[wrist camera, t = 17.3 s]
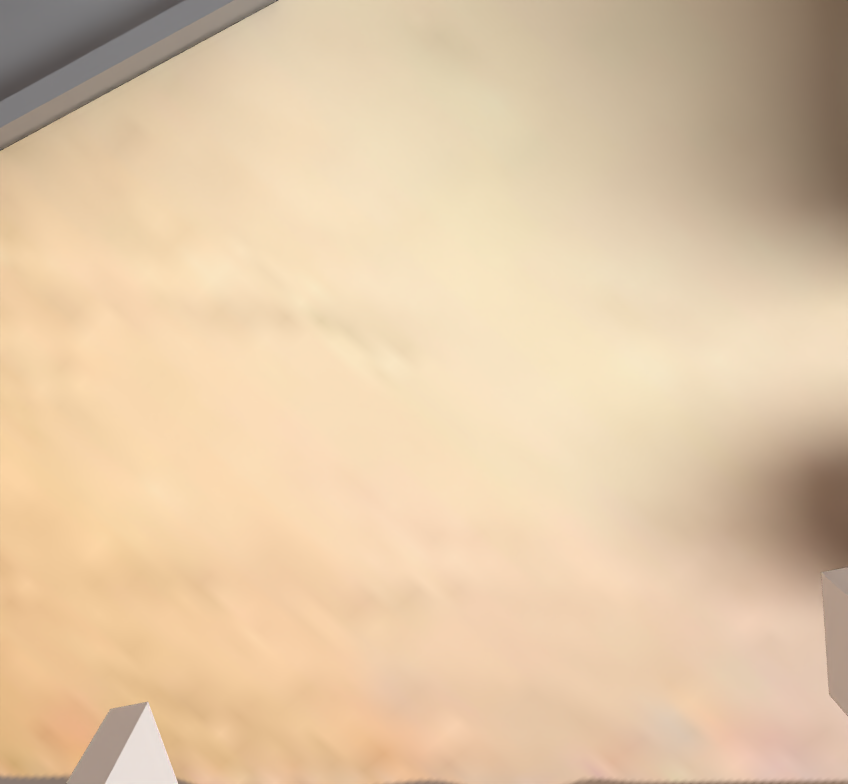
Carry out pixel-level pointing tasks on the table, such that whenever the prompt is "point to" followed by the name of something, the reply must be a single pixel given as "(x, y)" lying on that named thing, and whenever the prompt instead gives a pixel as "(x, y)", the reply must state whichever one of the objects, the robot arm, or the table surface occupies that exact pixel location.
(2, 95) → the tray
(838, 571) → the robot arm
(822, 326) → the table surface
